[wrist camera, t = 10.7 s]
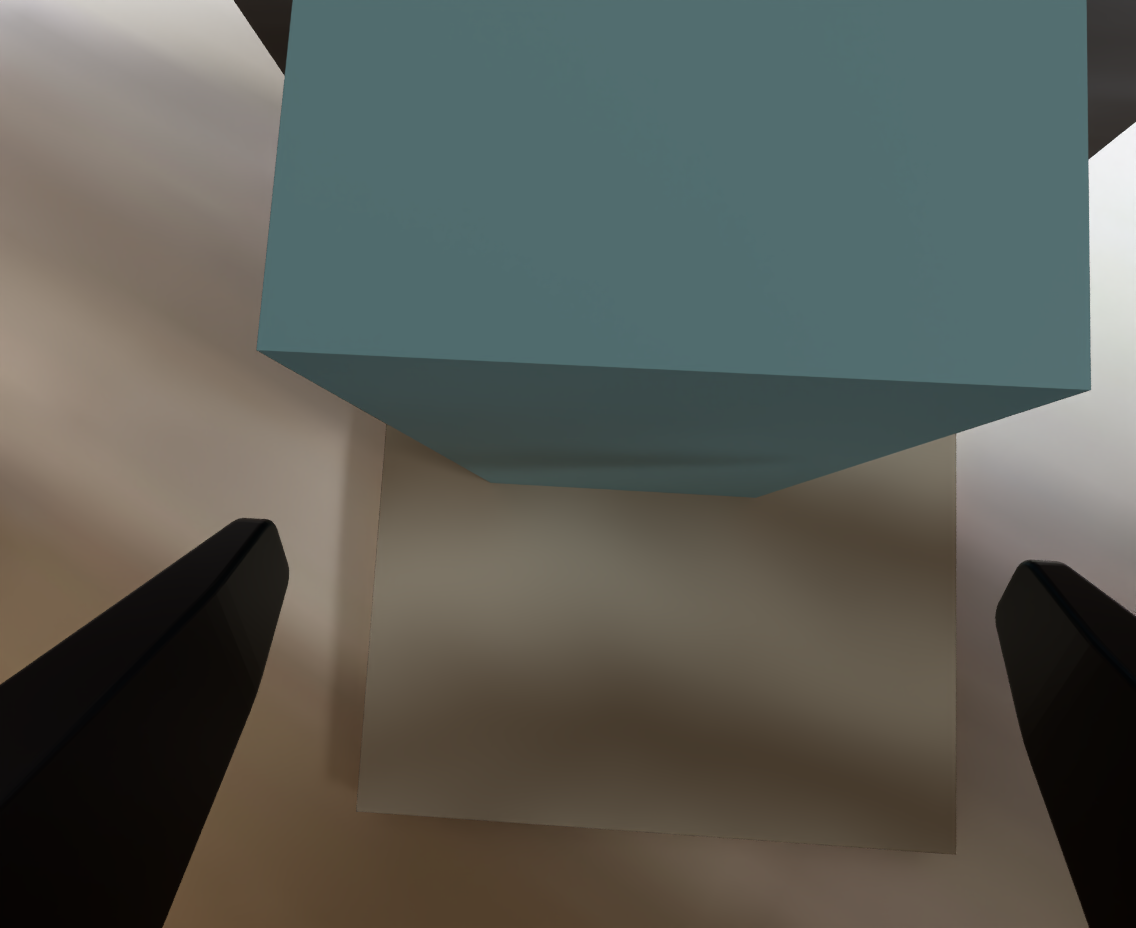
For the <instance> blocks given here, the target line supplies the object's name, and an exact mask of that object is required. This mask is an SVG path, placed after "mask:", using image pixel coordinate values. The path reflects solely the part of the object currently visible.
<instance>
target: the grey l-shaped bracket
mask: <svg viewBox="0 0 1136 928" xmlns="http://www.w3.org/2000/svg"><path fill="white" fill-rule="evenodd" d="M234 2H235V3H236V4H237V6H238V7H239V9H240V10H241V12H242V13H243V15H244V16H245V18H246V19H247V21H248V22H249V24H250V25H251V27H252V28H253V30H254V31H255V33H256V34H257V35H258V37H259V38H260V40H261V41H262V43H263V44H264V46H265V47H266V49H267V50H268V52H269V53H270V55H271V56H272V58H273V59H274V61H275V62H276V64H277V65H278V67H279V68H280V69H281V71H282V72H283V74H284V75H285V70H286V60H287V51H288V41H289V31H290V22H291V12H292V2H293V0H234ZM1087 87H1088V159H1090V158H1091V157H1092V156H1093V155H1095V154H1096V153H1097V152H1098V151H1100V150H1101V149H1102V148H1103V147H1105V146H1106V145H1107V144H1108V143H1110V142H1111V141H1112V140H1114V139H1115V138H1116V137H1117V136H1119V135H1120V134H1121V133H1122V132H1124V131H1125V130H1126V129H1127V128H1129V127H1130V126H1131V125H1132V124H1134V123H1135V122H1136V0H1087ZM356 811H357V812H371V813H385V814H399V815H413V816H427V817H441V818H455V819H469V820H483V821H496V822H510V823H524V824H538V825H552V826H566V827H580V828H594V829H608V830H622V831H636V832H650V833H664V834H678V835H692V836H706V837H719V838H733V839H747V840H761V841H775V842H789V843H803V844H817V845H831V846H845V847H859V848H873V849H887V850H901V851H915V852H929V853H942V854H956V434H952V435H949V436H946V437H943V438H940V439H937V440H934V441H931V442H928V443H924V444H921V445H918V446H915V447H912V448H909V449H906V450H903V451H900V452H896V453H893V454H890V455H887V456H884V457H881V458H878V459H875V460H872V461H868V462H865V463H862V464H859V465H856V466H853V467H850V468H847V469H844V470H840V471H837V472H834V473H831V474H828V475H825V476H822V477H819V478H816V479H813V480H809V481H806V482H803V483H800V484H797V485H794V486H791V487H788V488H785V489H781V490H778V491H775V492H772V493H769V494H766V495H763V496H760V497H757V498H751V497H733V496H716V495H698V494H680V493H662V492H644V491H626V490H608V489H591V488H573V487H555V486H537V485H519V484H501V483H490V482H488V481H487V480H485V479H483V478H481V477H480V476H478V475H476V474H474V473H473V472H471V471H469V470H467V469H465V468H464V467H462V466H460V465H458V464H457V463H455V462H453V461H451V460H450V459H448V458H446V457H444V456H443V455H441V454H439V453H437V452H435V451H434V450H432V449H430V448H428V447H427V446H425V445H423V444H421V443H420V442H418V441H416V440H414V439H412V438H411V437H409V436H407V435H405V434H404V433H402V432H400V431H398V430H397V429H395V428H393V427H391V426H390V425H388V424H386V436H385V449H384V462H383V474H382V487H381V500H380V513H379V526H378V538H377V551H376V564H375V577H374V590H373V602H372V615H371V628H370V641H369V654H368V666H367V679H366V692H365V705H364V718H363V730H362V743H361V756H360V769H359V782H358V794H357V807H356Z"/></svg>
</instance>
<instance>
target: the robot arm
mask: <svg viewBox="0 0 1136 928" xmlns="http://www.w3.org/2000/svg"><path fill="white" fill-rule="evenodd" d="M288 580H289V567H288V562H287V559H286V556H285V553H284V550H283V546H282V543H281V540H280V537H279V534H278V530H277V528H276V526H275V524H274V523H273V522H272V521H271V520H268V519H254V518H240V519H237V520H235V521H233V522H232V523H230V524H229V525H227V526H226V527H224V528H223V529H222V530H220V531H219V532H217V533H216V534H214V535H213V536H212V537H210V538H209V539H207V540H206V541H204V542H203V543H202V544H200V545H199V546H197V547H196V548H194V549H193V550H192V551H190V552H189V553H187V554H186V555H184V556H183V557H182V558H180V559H179V560H177V561H176V562H175V563H173V564H172V565H170V566H169V567H167V568H166V569H165V570H163V571H162V572H160V573H159V574H157V575H156V576H155V577H153V578H152V579H150V580H149V581H147V582H146V583H145V584H143V585H142V586H140V587H139V588H137V589H136V590H135V591H133V592H132V593H130V594H129V595H127V596H126V597H125V598H123V599H122V600H120V601H119V602H117V603H116V604H115V605H113V606H112V607H110V608H109V609H108V610H106V611H105V612H103V613H102V614H100V615H99V616H98V617H96V618H95V619H93V620H92V621H90V622H89V623H88V624H86V625H85V626H83V627H82V628H80V629H79V630H78V631H76V632H75V633H73V634H72V635H70V636H69V637H68V638H66V639H65V640H63V641H62V642H60V643H59V644H58V645H56V646H55V647H53V648H52V649H50V650H49V651H48V652H46V653H45V654H43V655H42V656H40V657H39V658H38V659H36V660H35V661H33V662H32V663H31V664H29V665H28V666H26V667H25V668H23V669H22V670H21V671H19V672H18V673H16V674H15V675H13V676H12V677H11V678H9V679H8V680H6V681H5V682H3V683H2V684H1V685H0V928H162V927H163V925H164V922H165V920H166V918H167V915H168V913H169V910H170V908H171V905H172V903H173V900H174V898H175V895H176V893H177V890H178V888H179V886H180V883H181V881H182V878H183V876H184V873H185V871H186V868H187V866H188V863H189V861H190V858H191V856H192V854H193V851H194V849H195V846H196V844H197V841H198V839H199V836H200V834H201V831H202V829H203V826H204V824H205V822H206V819H207V817H208V814H209V812H210V809H211V807H212V804H213V802H214V799H215V797H216V794H217V792H218V790H219V787H220V785H221V782H222V780H223V777H224V775H225V772H226V770H227V767H228V765H229V762H230V760H231V758H232V755H233V753H234V750H235V748H236V745H237V743H238V740H239V738H240V735H241V733H242V730H243V728H244V726H245V723H246V721H247V718H248V716H249V713H250V711H251V708H252V705H253V703H254V700H255V697H256V695H257V692H258V689H259V685H260V682H261V679H262V676H263V672H264V668H265V665H266V661H267V658H268V654H269V650H270V647H271V643H272V640H273V636H274V632H275V629H276V625H277V622H278V618H279V614H280V611H281V607H282V604H283V600H284V596H285V593H286V589H287V586H288ZM995 619H996V628H997V632H998V636H999V641H1000V645H1001V649H1002V654H1003V658H1004V662H1005V666H1006V671H1007V675H1008V679H1009V684H1010V688H1011V692H1012V697H1013V701H1014V705H1015V709H1016V714H1017V718H1018V722H1019V726H1020V730H1021V734H1022V737H1023V741H1024V745H1025V748H1026V751H1027V754H1028V757H1029V760H1030V763H1031V766H1032V769H1033V771H1034V774H1035V777H1036V780H1037V783H1038V785H1039V788H1040V791H1041V794H1042V797H1043V799H1044V802H1045V805H1046V808H1047V811H1048V813H1049V816H1050V819H1051V822H1052V825H1053V827H1054V830H1055V833H1056V836H1057V839H1058V841H1059V844H1060V847H1061V850H1062V853H1063V855H1064V858H1065V861H1066V864H1067V867H1068V869H1069V872H1070V875H1071V878H1072V881H1073V883H1074V886H1075V889H1076V892H1077V895H1078V897H1079V900H1080V903H1081V906H1082V909H1083V911H1084V914H1085V917H1086V920H1087V923H1088V925H1089V928H1136V616H1135V615H1133V614H1132V613H1131V612H1129V611H1128V610H1127V609H1125V608H1124V607H1123V606H1121V605H1120V604H1119V603H1117V602H1116V601H1115V600H1113V599H1112V598H1111V597H1109V596H1108V595H1106V594H1105V593H1104V592H1102V591H1101V590H1100V589H1098V588H1097V587H1096V586H1094V585H1093V584H1092V583H1090V582H1089V581H1088V580H1086V579H1085V578H1084V577H1082V576H1081V575H1080V574H1078V573H1077V572H1076V571H1074V570H1073V569H1071V568H1070V567H1069V566H1067V565H1066V564H1064V563H1061V562H1057V561H1043V560H1026V561H1024V562H1022V563H1021V564H1020V565H1019V566H1018V567H1017V569H1016V571H1015V573H1014V574H1013V576H1012V578H1011V580H1010V582H1009V584H1008V586H1007V588H1006V590H1005V592H1004V594H1003V595H1002V597H1001V599H1000V601H999V603H998V606H997V609H996V616H995Z"/></svg>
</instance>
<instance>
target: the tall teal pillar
mask: <svg viewBox="0 0 1136 928" xmlns="http://www.w3.org/2000/svg"><path fill="white" fill-rule="evenodd" d="M257 351H259V352H261V353H262V354H264V355H266V356H268V357H269V358H271V359H273V360H275V361H277V362H278V363H280V364H282V365H284V366H285V367H287V368H289V369H291V370H292V371H294V372H296V373H298V374H299V375H301V376H303V377H305V378H307V379H308V380H310V381H312V382H314V383H315V384H317V385H319V386H321V387H322V388H324V389H326V390H328V391H329V392H331V393H333V394H335V395H337V396H338V397H340V398H342V399H344V400H345V401H347V402H349V403H351V404H352V405H354V406H356V407H358V408H360V409H361V410H363V411H365V412H367V413H368V414H370V415H372V416H374V417H375V418H377V419H379V420H381V421H382V422H384V423H386V424H388V425H390V426H391V427H393V428H395V429H397V430H398V431H400V432H402V433H404V434H405V435H407V436H409V437H411V438H412V439H414V440H416V441H418V442H420V443H421V444H423V445H425V446H427V447H428V448H430V449H432V450H434V451H435V452H437V453H439V454H441V455H443V456H444V457H446V458H448V459H450V460H451V461H453V462H455V463H457V464H458V465H460V466H462V467H464V468H465V469H467V470H469V471H471V472H473V473H474V474H476V475H478V476H480V477H481V478H483V479H485V480H487V481H488V482H490V483H501V484H519V485H537V486H555V487H573V488H591V489H608V490H626V491H644V492H662V493H680V494H698V495H716V496H733V497H751V498H757V497H760V496H763V495H766V494H769V493H772V492H775V491H778V490H781V489H785V488H788V487H791V486H794V485H797V484H800V483H803V482H806V481H809V480H813V479H816V478H819V477H822V476H825V475H828V474H831V473H834V472H837V471H840V470H844V469H847V468H850V467H853V466H856V465H859V464H862V463H865V462H868V461H872V460H875V459H878V458H881V457H884V456H887V455H890V454H893V453H896V452H900V451H903V450H906V449H909V448H912V447H915V446H918V445H921V444H924V443H928V442H931V441H934V440H937V439H940V438H943V437H946V436H949V435H952V434H956V433H959V432H962V431H965V430H968V429H971V428H974V427H977V426H980V425H984V424H987V423H990V422H993V421H996V420H999V419H1002V418H1005V417H1008V416H1012V415H1015V414H1018V413H1021V412H1024V411H1027V410H1030V409H1033V408H1036V407H1040V406H1043V405H1046V404H1049V403H1052V402H1055V401H1058V400H1061V399H1064V398H1068V397H1071V396H1074V395H1077V394H1080V393H1083V392H1086V391H1089V390H1091V358H1090V267H1089V177H1088V87H1087V0H293V2H292V12H291V22H290V31H289V41H288V51H287V60H286V70H285V80H284V89H283V99H282V108H281V118H280V128H279V137H278V147H277V157H276V166H275V176H274V186H273V195H272V205H271V215H270V224H269V234H268V244H267V253H266V263H265V272H264V282H263V292H262V301H261V311H260V321H259V330H258V340H257Z"/></svg>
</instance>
